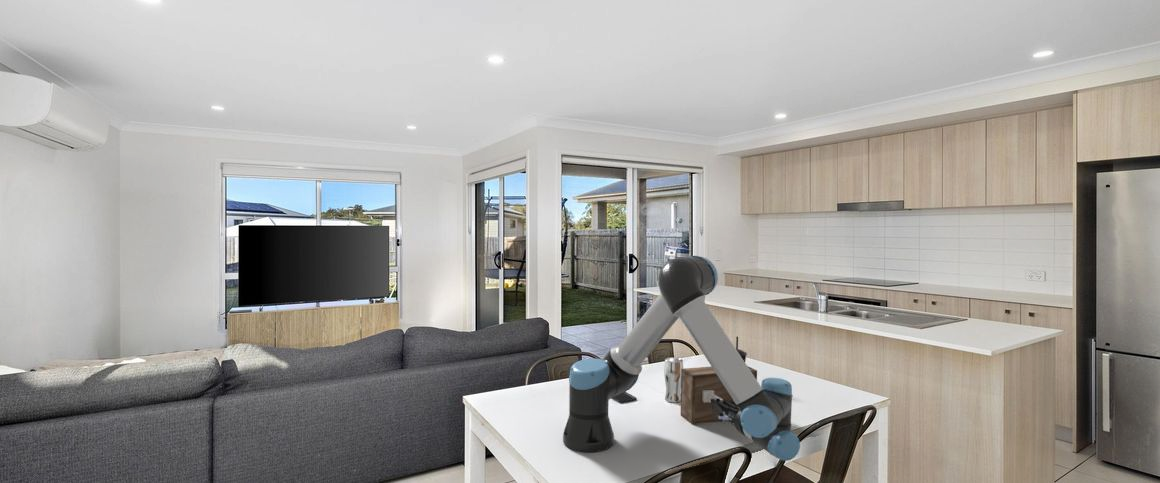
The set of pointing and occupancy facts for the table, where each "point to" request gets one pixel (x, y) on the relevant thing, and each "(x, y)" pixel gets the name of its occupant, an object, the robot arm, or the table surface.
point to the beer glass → (673, 379)
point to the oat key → (706, 394)
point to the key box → (692, 393)
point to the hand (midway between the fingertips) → (709, 397)
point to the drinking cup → (740, 351)
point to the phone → (624, 398)
